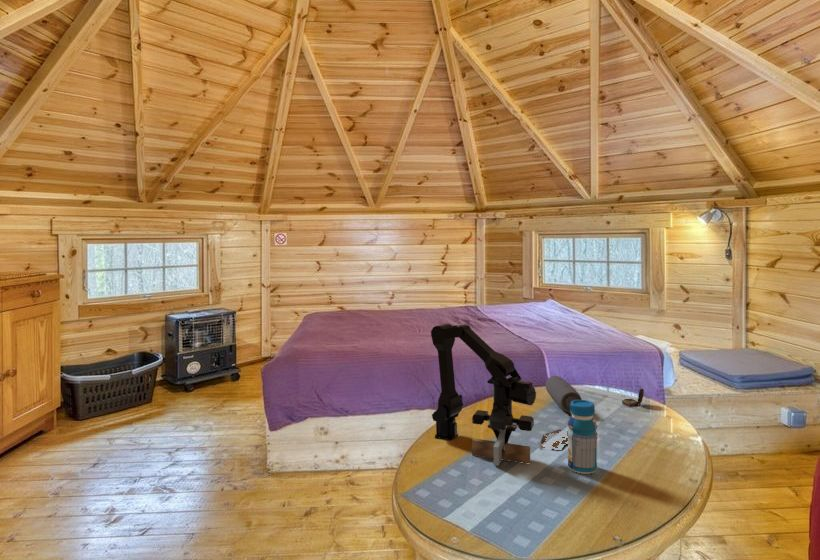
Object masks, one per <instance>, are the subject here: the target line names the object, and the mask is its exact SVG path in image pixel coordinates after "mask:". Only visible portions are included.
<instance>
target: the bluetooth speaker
mask: <svg viewBox="0 0 820 560" xmlns="http://www.w3.org/2000/svg"><path fill="white" fill-rule="evenodd" d="M544 386H545V390H546V392H547V393H548V394H549V396H550V398H551V399H552V400H553V402H554V403H555V404H557V405H559V406H560V407H561V408H562V409H561V408H560V407H559V408H560V409H561V410H562V411H565V412H567V413H570V414H571V412H570V404H571V401H573V400H583V399H582V397H581V395H580V394H579V392H578V391H577V390H576V389H575V388H574V387H573V385H571V384H570V383H569V382H568V381H566V380H565V379H564V378H562V377H561V376H558V375H552V376H550V377H548V378H547V379H546V381H545V385H544Z"/></svg>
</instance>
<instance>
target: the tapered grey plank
mask: <svg viewBox="0 0 820 560" xmlns="http://www.w3.org/2000/svg"><path fill="white" fill-rule="evenodd" d="M505 436H506V430H501V432H500V434H499V436H498V438H497V439H496V442H495V444H494V446H493V452H494V459H493V466H496V467H497V466H498V467H499V466H500V464H501V462H502V461H503V460H502V450H505Z"/></svg>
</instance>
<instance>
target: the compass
mask: <svg viewBox="0 0 820 560" xmlns="http://www.w3.org/2000/svg"><path fill="white" fill-rule="evenodd" d="M644 391H645V390H644V388H641V387H639V392H638V395H637V400H636V399H633V398H623V400H622V401H621V404H623V405H624V406H627V407H628V406H629V407H638V406H639V405H641V403H642V402H643V399H644V394H645V393H644Z"/></svg>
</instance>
